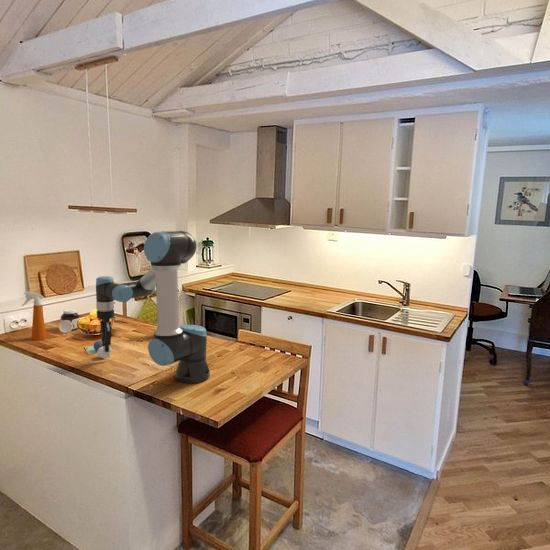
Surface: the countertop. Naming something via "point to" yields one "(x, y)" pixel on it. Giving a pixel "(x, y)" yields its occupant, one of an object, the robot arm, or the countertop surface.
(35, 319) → the spray bottle
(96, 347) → the object ball
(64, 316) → the spread jar
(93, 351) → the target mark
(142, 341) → the countertop surface
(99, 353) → the cue ball
